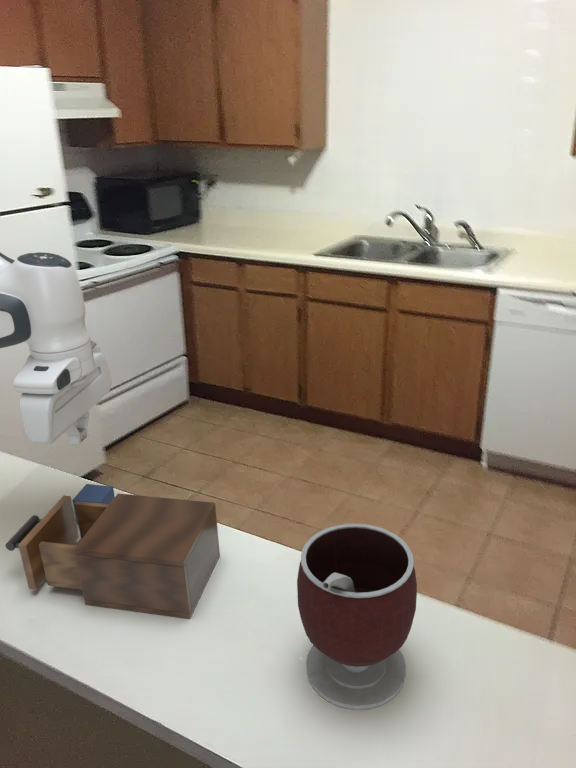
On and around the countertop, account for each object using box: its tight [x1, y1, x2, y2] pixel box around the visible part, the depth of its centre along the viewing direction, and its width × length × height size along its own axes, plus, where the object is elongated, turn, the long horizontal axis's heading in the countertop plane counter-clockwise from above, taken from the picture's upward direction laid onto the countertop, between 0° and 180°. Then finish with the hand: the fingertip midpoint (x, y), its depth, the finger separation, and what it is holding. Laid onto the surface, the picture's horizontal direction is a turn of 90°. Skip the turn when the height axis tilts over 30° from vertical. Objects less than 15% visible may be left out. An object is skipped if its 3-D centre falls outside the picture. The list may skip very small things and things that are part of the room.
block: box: [71, 483, 116, 526], centre depth 113 cm, size 5×5×5 cm
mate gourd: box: [296, 523, 418, 711], centre depth 78 cm, size 16×14×20 cm
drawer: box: [4, 494, 109, 591], centre depth 100 cm, size 19×13×8 cm, turn 78°
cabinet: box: [74, 493, 221, 620], centre depth 98 cm, size 16×14×10 cm
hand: (79, 440), depth 107 cm, fingers closed
